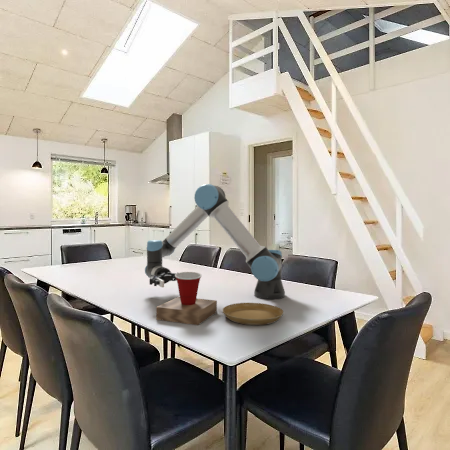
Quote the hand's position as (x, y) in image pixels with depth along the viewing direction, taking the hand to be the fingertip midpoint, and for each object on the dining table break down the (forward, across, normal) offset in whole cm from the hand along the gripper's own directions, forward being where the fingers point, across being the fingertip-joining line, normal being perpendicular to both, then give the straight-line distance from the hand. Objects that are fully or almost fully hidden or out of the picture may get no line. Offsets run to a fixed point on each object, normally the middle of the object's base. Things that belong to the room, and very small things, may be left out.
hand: (178, 282), depth 156 cm
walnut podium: (+10, 0, -12) cm, 15 cm away
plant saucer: (+24, -22, -12) cm, 35 cm away
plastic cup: (+10, 0, -7) cm, 12 cm away
